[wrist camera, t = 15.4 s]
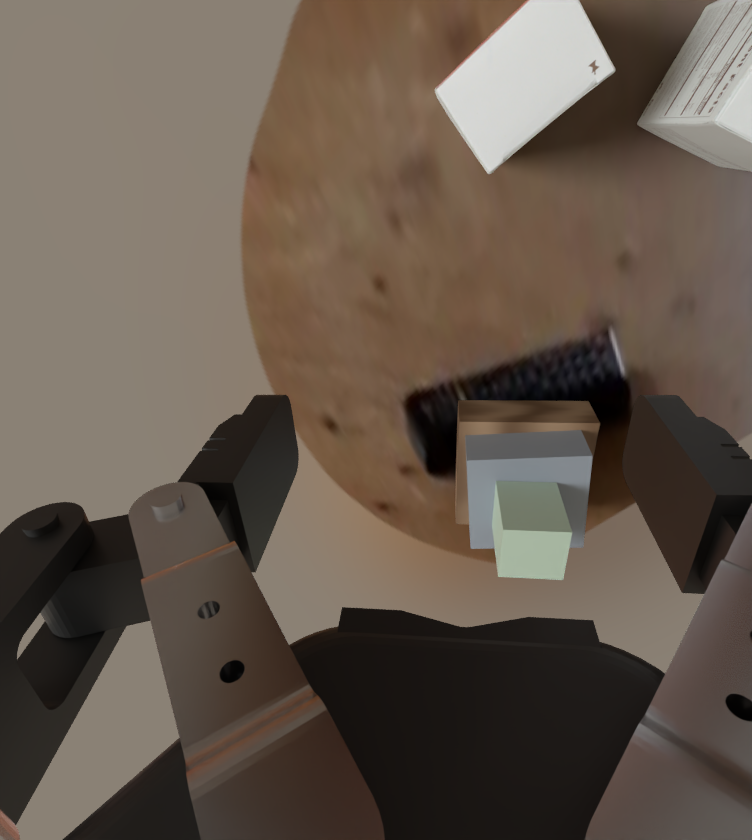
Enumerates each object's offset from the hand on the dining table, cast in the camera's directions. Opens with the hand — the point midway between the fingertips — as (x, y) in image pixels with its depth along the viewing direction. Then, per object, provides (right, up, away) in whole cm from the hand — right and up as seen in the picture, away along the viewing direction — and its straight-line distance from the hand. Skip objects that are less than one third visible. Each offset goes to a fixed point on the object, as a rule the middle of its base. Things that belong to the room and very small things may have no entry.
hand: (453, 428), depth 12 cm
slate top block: (+12, -5, +36) cm, 38 cm away
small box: (+7, +24, +24) cm, 35 cm away
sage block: (+11, -7, +32) cm, 35 cm away
